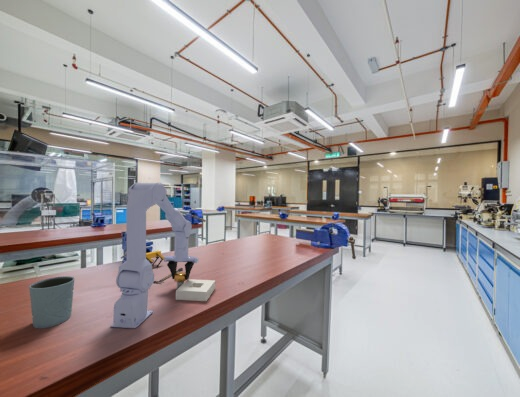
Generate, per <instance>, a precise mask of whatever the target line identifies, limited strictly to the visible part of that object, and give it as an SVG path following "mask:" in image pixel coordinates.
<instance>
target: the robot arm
mask: <svg viewBox="0 0 520 397" xmlns="http://www.w3.org/2000/svg"><path fill="white" fill-rule="evenodd" d="M127 190H128V193H127V194H128V196H127V198H128V199H127V203H126V240H125V241H126V244H125V245H126V254H125V255H126V256H125V257H126V260H125V261H124V262H122V263H121V264H120V265H119V266H118V273H117V276H116V279H115V284H116V286H117V287H118V288H120V289H119V291H120V292H121V295H120V297H119V298H118V299H117V300H116V301H115V303H114V304H113V321H112V323H111V324H110V325H109V326H110V327H112V328H125V329H126V328H127V329H136V328H138V326H140V325H141V324H142V323H143V322H144V321H145V320H146V319H147V318H148V317H150V316H151V315H152V314H153V313H154V311H153V310H148V296H149V295H148V294H149V292H148V291H149V290H150V289H151V287H152V285H154V283H153V282H154V281H155V272H154V271H153V266H152V264H153V263H150V261H149V260H147V259H146V253H147V211H148V210H149V209H150V208H152V207H153V206H155V205H157V206H158V207H159V208H160V210H162V211H163V213H165V219H166V220H167V221H168V223H169V224H170V226H171V231H172V232H174V253H173V255H169V256H163V257H164V260H163V262H165V263H166V265H167V267H168V269H169V271H170V274H171V275H172V276H171V279H172V280H174V274H175V273H176V271H177V270H178V264H179V263H185V264H184V268H185V271H184V272H186V275H185V279H186V281H187V280H188V279H190V274H191V272H192V268H193V267H194V265H195V264H197V263H199V257H196V256H190V255H189V242H190V241H189V240H190V239H189V237H191V232H192V227H193V226H192V222H191V221H189V219H186V218H185V217H184V215H183V214H182V212H181V211H180V209H179V208H176V207H173V206H174V205H172V203H171V201H170V199H169V198H168V196H167V189H166V188H165V185H164V184H163V183H162V182H134V183H133V184H132V185H131V186H129V187H128V188H127ZM167 262H168V263H167Z"/></svg>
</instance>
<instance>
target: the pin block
mask: <svg viewBox="0 0 520 397" xmlns="http://www.w3.org/2000/svg"><path fill="white" fill-rule="evenodd" d="M215 290H216V279H213V280H212V279H194V278H193V279H190V278H189V279H188V280H186V281H184V284H182V285H181V286H180V287H179V288H178V289H177V288H176V290H175V300H176V301H192V302H193V301H196V302H197V301H198V302H207V301H208V300H209V298H210V297H211V295H212V294H213V292H214V291H215Z"/></svg>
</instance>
